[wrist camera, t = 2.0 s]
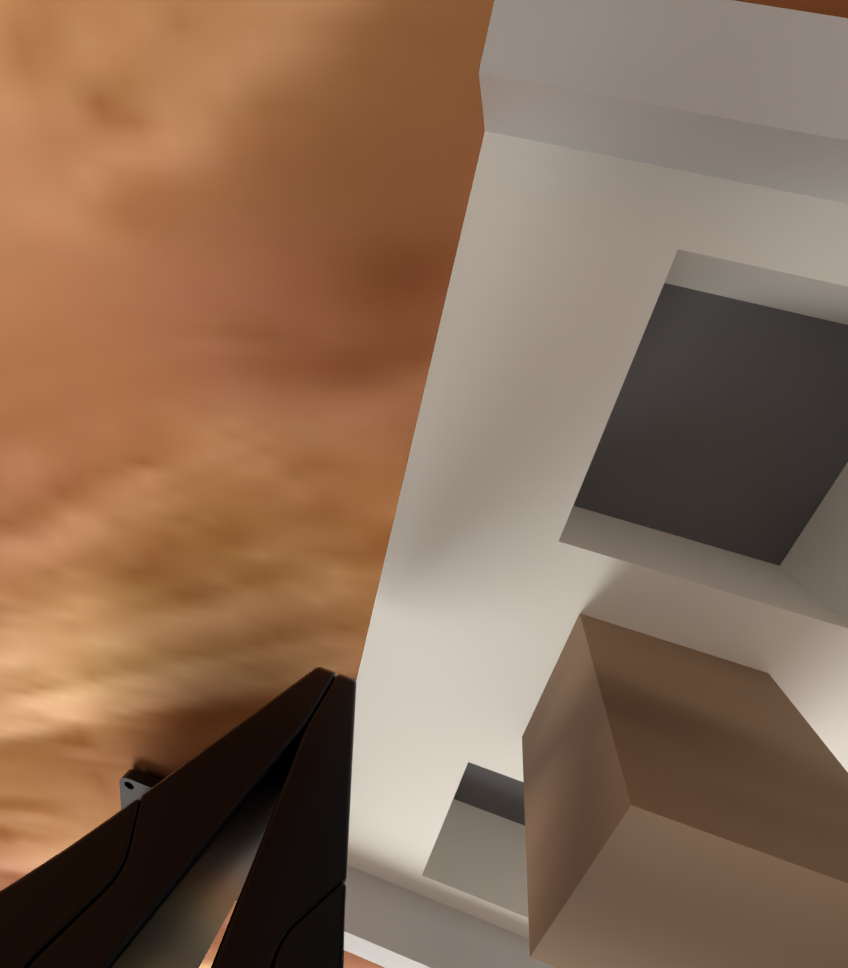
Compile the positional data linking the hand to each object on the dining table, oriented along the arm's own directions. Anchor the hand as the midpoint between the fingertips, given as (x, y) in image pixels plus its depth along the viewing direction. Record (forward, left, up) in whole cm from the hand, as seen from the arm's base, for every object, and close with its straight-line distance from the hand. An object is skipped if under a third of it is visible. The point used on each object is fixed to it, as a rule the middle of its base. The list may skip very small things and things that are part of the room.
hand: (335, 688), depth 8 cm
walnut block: (0, -7, -2) cm, 7 cm away
